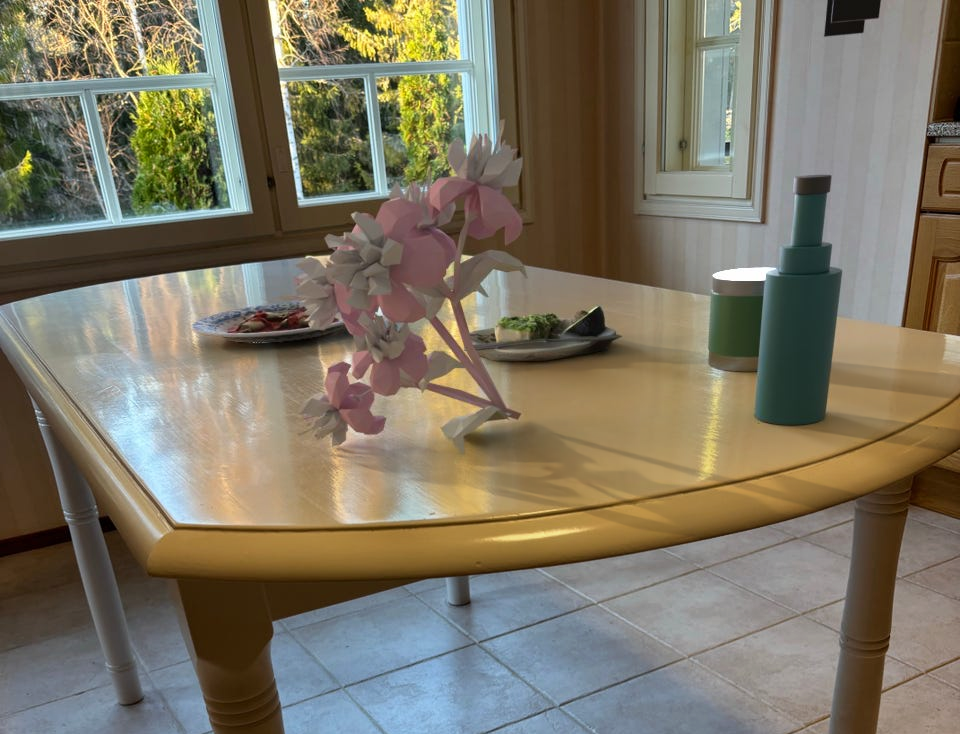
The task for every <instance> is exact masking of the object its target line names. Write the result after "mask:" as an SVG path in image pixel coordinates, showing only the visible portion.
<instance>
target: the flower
mask: <svg viewBox="0 0 960 734" xmlns="http://www.w3.org/2000/svg"><path fill="white" fill-rule="evenodd" d="M505 123H506V118H502V119H500V120H499V129H500V130H499V133H498V135H497V138H496V142H495V144H494V148H493V150H492V147H493V141H492V140H491V139H490V138H489V137H488V133H484V134H483V136H482V133H478V137H477V135H476V133H475V132H474V130H473V131H472V133H471V138H470V142H469V149H468V153H466V150H465V146H464V143H463V141H462V138H461V136H459V137H457V138H456V139H455V140H453V141H452V142H451V143H449V144H448V145H447V162H448V165H449V166H450V168H451V169H452V170H453V172H454V173H455V175H454V176H445V177H438V178H437V179H436V180H435V181H434V183H433V184H432V185H431V179H432V172H431V171H432V170H431V166H430V165H428V168H427V184H426V182H425V181H423V186H422V190H421V183H418V181H417V180H415V181H414V180H411V181H410V180H408V184H409V185H407V186H406V187H405V188H403V189H402V188H401V186H400V184H399V182H398V180H396V181H395V182H394V184H393V186H392V188H391V190H390V192H389V194H388V197H389V200H387V201H385V202H382V204H381V206H380V207H379V210H378V212H377V214H376V217H374V216H373V215H372V214H370V213H366V212H362V213H361V212H358V211H354V212H352V213H350V216H351V218H352V221H354V222H355V225H354V227H353V229H352V231H351V232H347V231H344V232H343V235H340V236H338V235H334V234H331V233H328V234H327V235H325V237H324V238H323V239H324V241H325V243H326V245H327V247H328V249H332V250H333V251H334V252H333V253H331V254H330V256H329V260H328V259H325V262H326V263H325V266H324V264H323V263H322V262H321V261H320V260H319V259H317V258H315V257H312V256H308V257H304V258H301V259H300V260H298V261H297V262H296V263H295V264H293V266H294V267H296V268H298V269H300V270H301V271H303V273H301V274H299V275H297V276H296V277H295V276H292V278H293V280H294V281H293V284H294V287H296V289H295V290H294V291H295V293H296V294H297V295H281V296H277V299H280V300H282V301H301V300H302V302H300V305H299V308H301V307H303V306H304V307H305V308H307V310H306V311H305V312H300V313H299V317H298V318H300V317H301V316H302V315H303V314H307V315H310V316H309V317H308V318H307V319H306V320H305V321H310V323H309V326H310V328H312V329H319V330H324V329H326V328H327V327H328V326H329V325H330V324H331V323H333V320H334V318H335V315H336V313H337V310H338V309H339V312H340V315H341V318H342V320H343V322H344V324H345V327H346V329H347V331H348V333H349V335H352V336H353V344H354V352H353V353H352V359H351V364H350V363H348V362H346V361H338V362H333V363H332V364H331V365H330V366H329V367H327V372H326V376H325V380H324V387H325V391H326V393H324V392H323V391H318V392H317V393H315V394H314V395H312V396H311V397H309V398H308V399H306V400H305V401H303V402H301V403H300V409H299V415H303V418H302V420H301V421H307V420H310V419H312V420H314V421H311V422H309V423H307V424H306V425H305V427H308V426H311V425H313V424H314V425H313V426H312V427H310V428H309V429H307V430H305V431H302V432H298V433H297V436H298V437H301V436H302V435H305V434H306V433H309V432H310V431H312V432H314V431H316V433H314V437H315V438H316V442H318V441H319V440H320V439H321V441H322V440H323V439H324V438H325V437H327V436H329V438H331V439H330V445H329V446H330V447H337V446H341V445H342V444H343V443H344V442H346V441H347V433H348V431H349V427H350V428H351V429H352V430H353V431H354V432H355V433H359V434H364V435H367V436H369V435H370V436H371V435H373V436H376V435H378V434H380V433H382V432H383V431H384V429H385V425H386V421H387V417H386V416H385V415H383V414H382V415H381V414H380V415H373V413H372V411H371V408H372V405H373V404H374V402H375V397H376V396H375V394H377V395H380V396H383V397H391V396H396V395H397V393H398V392H399V391H400V389H401V388H403V389H417V390H420V392H421V393H422V394H423V393H424V392H425V390H427V391H429V392H433V393H436V394H439V395H441V396H445V397H447V398H450V399H454V400H457V401H460V402H462V403H466V404H469V405H472V406H474V407H478V408H480V410H478V411H476V412H473V413H468V414H464V415H461V416H456V417H452V418H451V419H449V420H447V421H446V422H445V423H444V424H442V425H441V426H440V430H441V431H442V433H443V435H444V437H445V438H446V440H451V441H452V442H453V444H454V445H455V447H456V448H457V450H458V451H459V453H460V454H461V455H463V454H465V453H466V445H465V444H466V443H465V437H466V436H467V435H468V434H470V433H472V432H473V431H475V430H476V429H478V428H479V427H481V426H482V425H483V424H485V423H487V422H493V421H501V420H508V421H510V419H509V418H511V419H513V420H516V421H518V420H519V419H520V417H521V415H522V413H521V412H518V411H516V410H513V409H511V408H508V407H507V405H506V404H505V402H504V400H503V398H502V395H501V394H500V393H499V391H498V389H497V387H496V385H495V383H494V381H493V379H492V378H491V375H490V373H489V372H488V370H487V368H486V366H485V364H484V362H483V361H482V359H481V356H479V355H478V353H477V351H476V349H475V347H474V346H473V343H472V339H471V336H470V330H469V326H468V323H467V320H466V316H465V312H464V309H463V306H462V302H461V301H462V300H464V299H465V298H467V297H468V296H469V295H471V294H473V293H479V294H480V295H482V296H483V297H485V298H489V295H488V293H487V292H486V290H485V289H484V287H483V285H482V283H483V281H485V280H486V279H487V277H488V276H489V275H490V274H491V273H492V271H494V270H495V271H498V272H499V271H500V272H504V273H513V272H518V271H519V272H520V273H521V274H522V275H523V277H524V278H525V279H526V280H528V274H527V271H526V268H525V265H524V264H523V262H522V261H521V260H520V259H518V258H516V257H515V256H513V255H511V254H509V253H508V252H506V251H503V250H496V249H489V250H486V251H483V252H480V253H477V254H475V255H473V256H472V257H470V258H468V259H466V260H464V261H462V262H461V259H462V255H463V251H464V247H465V243H466V239H467V236H470V237H472V238H474V239H476V240H478V241H479V240H483V239H486V238H491V237H493V236H494V235H495V234H496V232H497V231H498V230H500V229H502V228H504V246H505V247H506V246H508V245H509V244H511V243H513V242H514V241H516V240H517V238H518V237H519V236H520V235H521V233H522V231H523V219H522V217H521V216H520V214H519V213H518V211H517V210H516V208H515V207H514V206H513V204H512V203H511V202H510V201H509V199H508V197H507V196H506V195H504V194H502V190H503V188H504V189H505V188H511V187H515V186H518V184H519V181H520V176H521V172H522V168H523V159H524V156H521V157H519V158H517V159H515V160H513V158H514V155H515V154H516V152H517V151H518V150H519V148H513V149H512V148H511V147H512V146H511V144H507V141H506V139H504V140H503V142H502V143H501V147H500V150H498V149H499V146H500V142H501V139H502V137H503V133H504V130H505ZM483 138H484V139H483ZM483 140H484V141H483ZM483 143H484V145H483ZM426 186H427V187H426ZM403 190H404V192H403ZM425 190H426V192H425ZM464 197H466V199H465V201H464V205H463V206H464V221H465V223H464V225H463V227H462V229H461V231H460V233H459V238H458V243H457V245H456V242H455V240H454V239H453V238H452V237H450V236H449V235H447V234H446V233H445V232H443V230H442V229H439V227H442V226H444V225H446V224H449V223H450V222H451V221H452V218H453V216H454V213H455V211H456V208H457V206H456V201H458V200H460V199H462V198H464ZM452 264H453V275H450V276H447V269H449V268H450V266H451V265H452ZM446 276H447V277H446ZM445 277H446V278H445ZM446 299H448V300H449V302H450V305H451V308H452V312H453V315H454V319H455V322H456V325H457V328H458V331H459V335H460V338H461V342H462V341H463V342H462V345H463V348H462V347H461V346H460V345H459V343H458V342H457V341H456V339H455V338H454V337H453V335H452V334H451V333H450V331H449V330H448V328H447V327H446V326H445V324H443V323H442V321H441V320H440V318H438V316H437V314H438V313H439V312H440V310H441V309H442V307H443V305H444V302H445V300H446ZM379 309H380V311H381V314H382V315H378V314H376V313H378V312H379ZM384 317H385V318H386V319H387V322H386V321H385V319H384ZM424 318H425V319H426V320H427V321H428V323H430V325H431V326H432V327H433V329H434V330H435V331H436V332H437V334H438V335H439V337H440V338H441V339H442V341H443V342H444V343H445V344H446V345H447V347H448V348H449V349H450V351H451V352H452V353H453V354H454V356H455V357H456V358H457V359H456V358H454V357H453V356H452V355H450V354H448V353H446V351H442V350H433V351H431V352H430V353H428V354H426V353H425V352H426V351H427V350H428V349H427V346H426V344H425V340H424V338H423V337H421V336H420V335H418V334H416V333H414V332H412V331H411V330H410V327H409V324H414V323H416V322H418V321H420V320H422V319H424ZM396 323H397V324H402V325H401V326H400V329H398V325H397V324H396ZM464 348H465V350H466V351H464ZM371 365H372V366H371ZM370 366H371V369H370V374H369V378H368V379H369V383H370V385H368V384H365V383H363V382H360V381H359V380H361V379H363V378H364V376H365V374H366V373H367V371H368V369H369V367H370ZM350 369H351V376H352V377H353V378H354V379H355V380H356V382H354V383H350V380H349V377H348V373H349V371H350ZM455 369H465V370H466V372H467V373H468V374H469V375H470V377H471V378H472V379H473V381H475V383H476V384H477V385H478V386H479V388H480V389H481V391H482V392H483V393H484V394H485V395H486V397H487V398H488V399H489V400H487V399H486V398H483V397H480V396H478V395H475V394H473V393H470V392H468V391H465V390H463V389H458V388H454V387H450V386H446V385H442V384H436V383H433V382H431V381H434V380H436V379H439V378H442V377H445V376H446V375H447V374H449V373H450V372H452V371H453V370H455Z"/></svg>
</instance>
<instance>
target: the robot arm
mask: <svg viewBox="0 0 960 734" xmlns="http://www.w3.org/2000/svg"><path fill="white" fill-rule="evenodd" d="M881 4H882V0H826V9H825V19H824V20H825V22H824V32H823V37H824V38H827V37H836V36H846V35H847V36H849V35H858V34H864V33H865V25H866V24H865V22H866V21H867V20H877V19H878V20H879V18H880V12H881V11H880V10H881Z"/></svg>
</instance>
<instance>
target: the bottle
mask: <svg viewBox="0 0 960 734" xmlns="http://www.w3.org/2000/svg"><path fill="white" fill-rule="evenodd" d="M831 185H832V174H809V175H808V174H807V175H798V176H794V177H793V185H792V194H793V195H794V202H793V203H794V204H793V215H792V227H791V238H790V242H788V243H784V244H781V245H780V247H779V258H778V267H775V268H776V269H771V270H768V271H767V272H766V273H765V285H764V298H763V310H762V323H761V336H760V348H759V361H758V371H757V375H756V385H755V400H754V413H753V415H754V418H756V420H758V421H760V422H763V423H768V424H772V425H781V426H802V425H810V424H815V423H818V422H821V421H822V420H824V419H825V418H826V417H827V415H826V413H827V406H828V398H829V389H830V381H831V372H832V363H833V355H834V346H835V338H836V329H837V321H838V312H839V303H840V297H841V296H840V295H841V287H842V286H841V285H842V277H843V269H841V268H839V267H835V266H834V267H833V266H831V260H832V252H833V251H832V249H833V244H832V243H831V242H827V241H826V242H825V241H823V238H824V237H823V236H824V228H825V227H824V225H825V219H826V217H825V216H826V208H827V199H828V193H830V192H831V187H832V186H831Z"/></svg>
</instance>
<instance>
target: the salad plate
mask: <svg viewBox="0 0 960 734" xmlns="http://www.w3.org/2000/svg"><path fill="white" fill-rule="evenodd" d="M497 322H498V323H497V324H496V325H495V326H494V327H490V328H483V329H478V330H477V329H476V330H473V331H469V333H470V336H471V339H472V343H473V346H474V347H475V349H476V351H477V353H478V355H479V357H480V358H485V359H488V360H491V361H497V362H546V361H552V360H553V361H554V360H558V359H559V360H560V359H565V358H570V357H578V356H582V355H589V354H593V353H598V352H602V351H604V350H607V349H608V348H609V347H610V345H611V344H612V343H613V342H614V341H616V340H618V339H619V338H620V339H621V338H622V337H623V335H621V334H618V333H617V330H616V329H615V328H612V327H608V326H606V318H605V313H604V311H603V308H602V307H601V305H596V306H594V307H593V308H591V309H590V310H589V311H587V310H583V309H582V310H581V309H580V310H578V311H575V312H574V313H573V315H572V317H571V318H568V317H567V318H566V317H565V318H563V317H558V316H557V315H556V314H555V313H553V312H552V313H549V312H546V313H545V314H539V313H538V314H536V313H534V314H529V315H528V317H527V316H526V315H524V316H517V315H514V316H511V317H509V316H503V317H501V318H500V319H498V321H497ZM461 342H462V343H463V341H462V340H461ZM463 351H464V352H467V351H466V350H465V348H464V347H463Z"/></svg>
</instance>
